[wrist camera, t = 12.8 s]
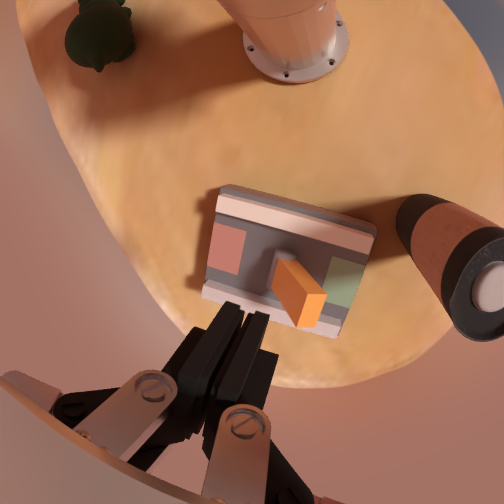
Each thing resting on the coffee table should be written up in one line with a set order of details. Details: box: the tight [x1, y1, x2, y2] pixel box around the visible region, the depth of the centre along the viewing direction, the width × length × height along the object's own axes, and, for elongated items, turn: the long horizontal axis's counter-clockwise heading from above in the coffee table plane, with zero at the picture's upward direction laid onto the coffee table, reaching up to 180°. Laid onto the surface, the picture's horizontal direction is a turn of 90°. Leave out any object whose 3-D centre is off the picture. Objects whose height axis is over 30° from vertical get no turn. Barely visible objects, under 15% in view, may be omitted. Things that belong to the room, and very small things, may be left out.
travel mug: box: [396, 194, 504, 342], centre depth 23 cm, size 8×8×20 cm
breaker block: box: [201, 184, 378, 339], centre depth 36 cm, size 14×18×5 cm
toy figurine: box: [65, 0, 135, 72], centre depth 25 cm, size 9×19×25 cm
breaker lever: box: [266, 248, 327, 328], centre depth 31 cm, size 4×2×9 cm
